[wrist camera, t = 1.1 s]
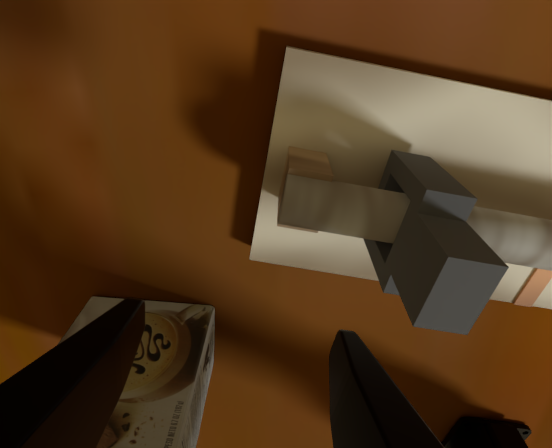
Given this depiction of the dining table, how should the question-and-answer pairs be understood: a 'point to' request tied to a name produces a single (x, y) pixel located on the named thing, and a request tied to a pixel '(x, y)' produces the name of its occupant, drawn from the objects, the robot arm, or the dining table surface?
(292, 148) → the pipe stand
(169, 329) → the coffee box
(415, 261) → the dark angular block
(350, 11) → the dining table surface
